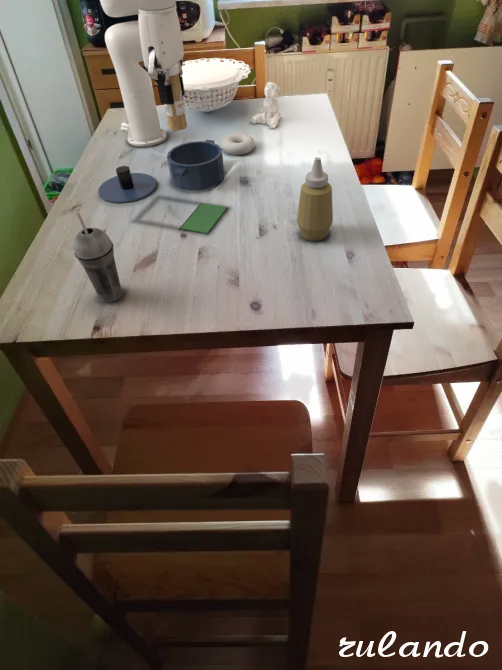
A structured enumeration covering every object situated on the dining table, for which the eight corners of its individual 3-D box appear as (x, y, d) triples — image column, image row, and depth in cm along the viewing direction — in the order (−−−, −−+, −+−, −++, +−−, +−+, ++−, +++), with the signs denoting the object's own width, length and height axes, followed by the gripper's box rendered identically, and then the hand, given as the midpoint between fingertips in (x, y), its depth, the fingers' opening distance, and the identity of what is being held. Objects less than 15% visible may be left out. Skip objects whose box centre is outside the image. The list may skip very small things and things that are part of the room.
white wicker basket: (263, 97, 169) (262, 58, 159) (238, 133, 148) (235, 90, 139) (182, 94, 176) (176, 56, 167) (147, 128, 155) (139, 87, 146)
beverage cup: (130, 282, 98) (103, 197, 83) (125, 305, 93) (95, 218, 78) (96, 284, 98) (64, 199, 84) (89, 308, 93) (53, 221, 78)
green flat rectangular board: (134, 221, 115) (134, 219, 114) (158, 197, 122) (158, 196, 122) (207, 234, 109) (207, 232, 109) (227, 208, 116) (227, 206, 116)
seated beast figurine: (250, 123, 153) (248, 84, 144) (265, 114, 157) (264, 75, 149) (273, 129, 149) (272, 89, 140) (288, 119, 153) (288, 80, 144)
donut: (221, 158, 137) (255, 156, 136) (220, 146, 134) (254, 144, 133) (223, 143, 143) (255, 141, 143) (222, 132, 141) (254, 130, 140)
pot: (157, 193, 124) (152, 166, 119) (190, 160, 137) (187, 134, 131) (206, 200, 120) (203, 173, 114) (236, 165, 132) (234, 140, 127)
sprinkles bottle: (189, 129, 107) (179, 65, 97) (169, 133, 106) (157, 68, 97) (186, 122, 110) (176, 59, 100) (167, 125, 109) (155, 62, 100)
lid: (87, 200, 123) (80, 179, 119) (119, 173, 133) (113, 152, 129) (138, 209, 119) (132, 187, 114) (167, 180, 128) (162, 159, 124)
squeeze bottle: (290, 229, 108) (291, 154, 95) (321, 221, 110) (326, 146, 97) (305, 248, 103) (308, 171, 90) (338, 238, 104) (345, 162, 92)
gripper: (160, -9, 97) (175, 85, 110) (116, 10, 86) (139, 112, 99) (192, -9, 95) (203, 87, 108) (151, 11, 84) (170, 115, 97)
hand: (172, 98), depth 103 cm, fingers closed on sprinkles bottle, 4 cm apart
